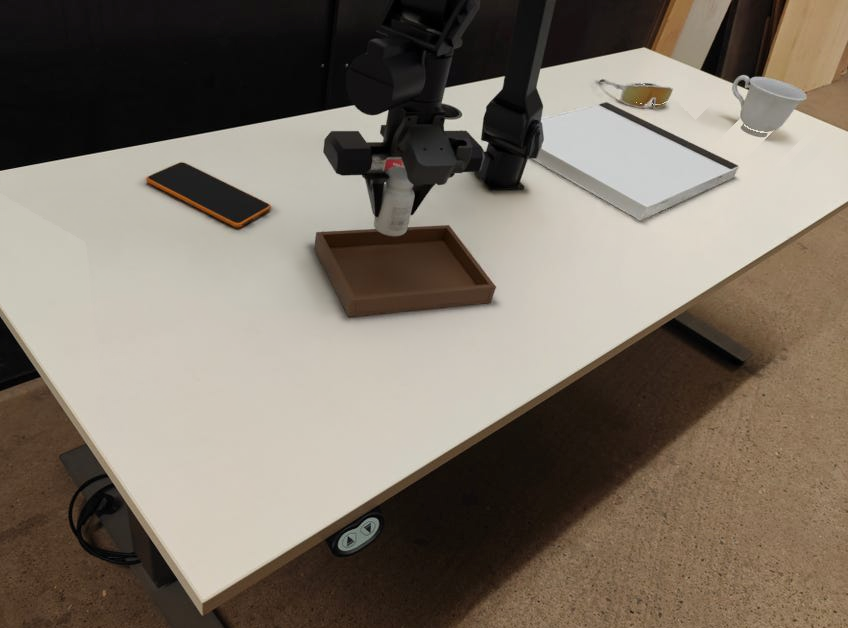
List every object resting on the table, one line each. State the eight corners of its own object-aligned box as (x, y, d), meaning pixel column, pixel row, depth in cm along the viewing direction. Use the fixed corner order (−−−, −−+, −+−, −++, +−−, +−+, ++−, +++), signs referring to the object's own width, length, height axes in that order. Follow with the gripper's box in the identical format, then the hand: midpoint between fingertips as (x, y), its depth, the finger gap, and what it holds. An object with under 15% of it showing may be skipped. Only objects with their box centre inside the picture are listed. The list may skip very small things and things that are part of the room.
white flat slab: (605, 101, 142) (740, 165, 127) (601, 112, 144) (733, 177, 129) (502, 127, 122) (646, 207, 107) (498, 139, 124) (640, 220, 109)
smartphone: (237, 230, 88) (238, 224, 88) (144, 182, 93) (143, 177, 92) (273, 209, 93) (273, 203, 93) (182, 165, 98) (182, 160, 98)
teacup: (725, 111, 158) (748, 68, 151) (787, 137, 151) (814, 93, 145) (706, 121, 151) (729, 76, 144) (770, 148, 144) (797, 102, 138)
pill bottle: (412, 228, 87) (425, 174, 82) (396, 241, 84) (408, 186, 79) (384, 215, 88) (395, 160, 83) (366, 227, 85) (376, 172, 80)
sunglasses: (623, 107, 148) (631, 84, 145) (588, 90, 160) (595, 68, 157) (676, 111, 152) (685, 88, 149) (639, 94, 163) (646, 72, 161)
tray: (444, 240, 95) (449, 224, 93) (491, 302, 85) (496, 287, 84) (313, 248, 88) (316, 231, 86) (348, 317, 79) (351, 300, 77)
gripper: (363, 124, 66) (342, 256, 76) (524, 124, 72) (485, 245, 83) (329, 79, 73) (315, 204, 84) (478, 82, 80) (447, 199, 90)
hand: (392, 214), depth 85 cm, fingers closed on pill bottle, 4 cm apart
